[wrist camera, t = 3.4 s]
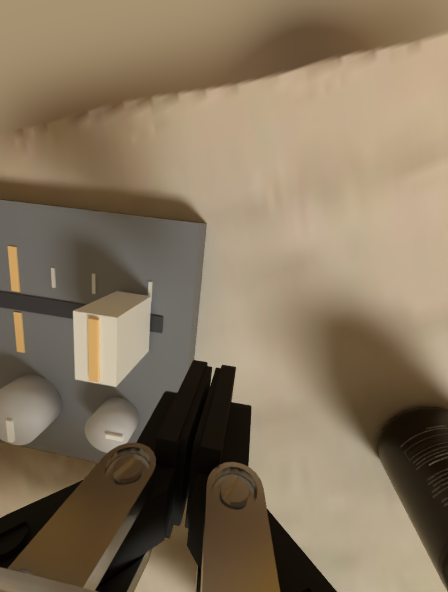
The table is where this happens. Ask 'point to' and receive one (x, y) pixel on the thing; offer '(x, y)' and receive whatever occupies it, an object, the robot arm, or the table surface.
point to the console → (77, 293)
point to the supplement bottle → (421, 475)
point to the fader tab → (111, 337)
